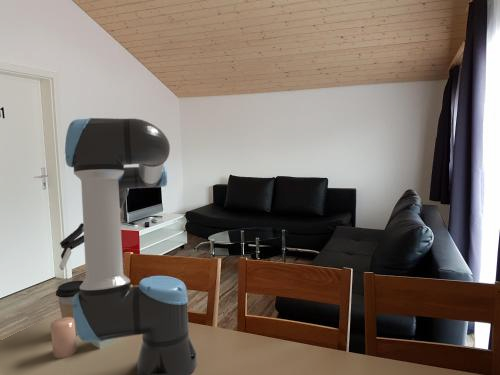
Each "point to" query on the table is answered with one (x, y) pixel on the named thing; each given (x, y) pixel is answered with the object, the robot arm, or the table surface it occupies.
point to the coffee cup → (68, 297)
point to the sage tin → (103, 343)
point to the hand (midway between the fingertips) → (83, 272)
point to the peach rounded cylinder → (63, 337)
